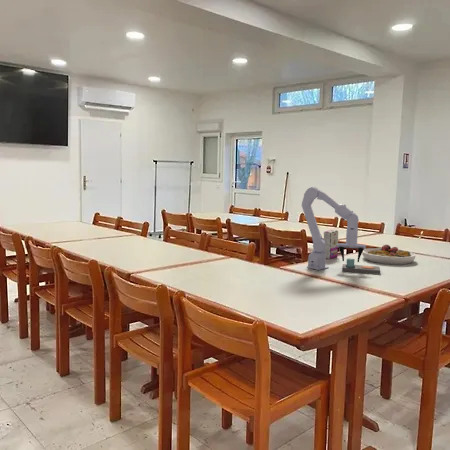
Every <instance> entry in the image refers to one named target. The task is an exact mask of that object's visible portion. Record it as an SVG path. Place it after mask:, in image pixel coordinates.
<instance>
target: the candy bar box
mask: <svg viewBox="0 0 450 450" xmlns="http://www.w3.org/2000/svg"><path fill="white" fill-rule="evenodd" d="M323 239H324V240H325V242H326V246H325V251H326V259H327V260H332V259H334V258H336V257H338V252H339V250H338V247H337V244H338V243H339V230H336V229H331V230H327V231H323Z"/></svg>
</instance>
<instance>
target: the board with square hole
mask: <svg viewBox="0 0 450 450" xmlns="http://www.w3.org/2000/svg"><path fill="white" fill-rule="evenodd" d="M346 265H347V263H343V264H342V268H341V272H345V273H346V272H347V273H355V274H356V273H358V274H371V275H372V274H373V275H381V267H380V266H373V265H371V266H372V267H375V269H364V268H361V266H364V265H363V264H362V265H361V264H354V268H353V267H346Z"/></svg>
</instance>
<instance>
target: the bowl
mask: <svg viewBox="0 0 450 450" xmlns="http://www.w3.org/2000/svg"><path fill="white" fill-rule="evenodd" d="M361 255H362V256H363V258H364V259H365V260H366V261H370V262H373V263H376V264H385V265H409V264H410V263H413V262H414V260H415V259H416V253H414V252H413V251H409V250H408V251H407V250H403V249H399V248H398V247H397V246H393V247H391V245H389V244H384V245H382V246H381V247H380V248H379V247H377V248H366V249H363V252H362V254H361Z"/></svg>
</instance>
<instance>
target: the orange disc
mask: <svg viewBox="0 0 450 450" xmlns="http://www.w3.org/2000/svg"><path fill="white" fill-rule="evenodd" d="M372 266H373V265H363V266H361V268H364V269H375V267H372Z"/></svg>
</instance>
